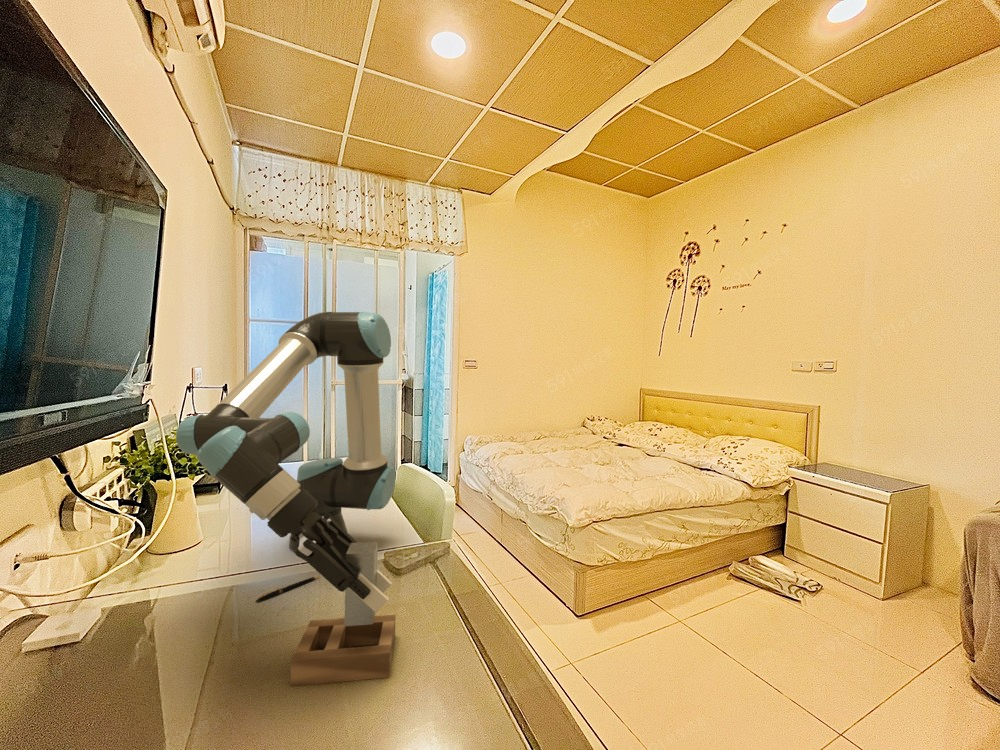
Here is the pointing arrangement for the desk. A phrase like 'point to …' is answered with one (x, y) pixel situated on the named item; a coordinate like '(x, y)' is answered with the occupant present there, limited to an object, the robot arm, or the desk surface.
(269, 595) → the fountain pen
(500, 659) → the desk surface
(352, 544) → the grey tall rectangular block
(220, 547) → the desk surface
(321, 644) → the wooden slotted frame
